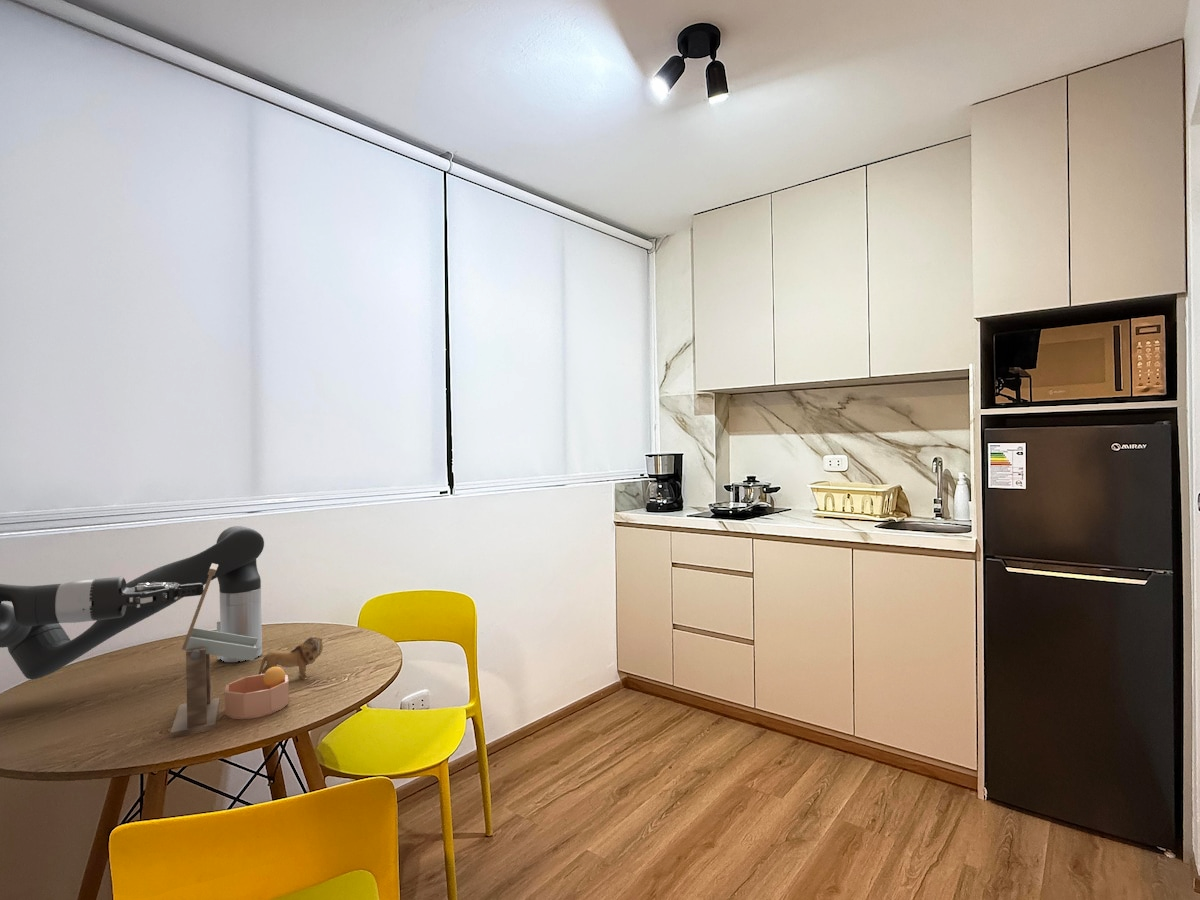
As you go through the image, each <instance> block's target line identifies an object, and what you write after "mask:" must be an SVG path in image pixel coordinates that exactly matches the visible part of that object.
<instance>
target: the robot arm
mask: <svg viewBox="0 0 1200 900" xmlns="http://www.w3.org/2000/svg"><path fill="white" fill-rule="evenodd" d="M264 548H265V540H264V537H263V536H262V535H261V533H260V532H258V531H257V530H255V529H254V528H253V529H252V528H250V527H247V526H243V525H234V526H231V527H228V528H225V529H224V530H223V531H222V532H220V534H219V535H218V537H217V540H216V543H215V544H213V545H212V546H210V547H208V548H206V549H204V550H203V551H201V552H198V553H196V554H194V555H192V556H189V557H186V558H182V559H181V560H180V559H179V560H176V561H173V562H171V563H167V564H165V565H162V566H159V567H157V568H154V569H152V570H149V571H148V572H146V573H144V574H142V575H139V577H136V578H134V579H132V580H130V581H129V582H127V581H126V579H125V577H123V576H115V577H114V576H113V577H105V578H102V577H101V578H93V579H91V578H90V579H81V580H75V581H70V582H63V583H54V584H44V585H16V584H3V583H0V649H1V648H7V651H8V653H9V654H10V656H11V659H13V661H14V662H15V664H16V665H17V667H18V669H19V670H20V671H21V673H22V675H23V676H24V677H25V678H26V679H27V680H36V679H37V680H38V679H40V678H41V679H42V678H43V677H46V676H49V675H51V674H53V673H55V672H56V671H58V670H60V669H62V668H64V667H65V666H67V665H69V664H70V663H72V662H74V661H75V660H76V659H78V658H80V657H82V656H83V655H84V654H86V653H88V652H89V651H91V650H93V649H94V648H97V646H99V645H101V644H102V643H104V642H105V641H107V640H108V639H110V638H113V637H114V636H116V635H117V634H119V633H121V632H123V631H125V630H126V629H129V628H130V627H132V626H134V625H136V624H137V623H140V622H142V621H143V620H145V619H147V618H149V617H151V616H153V615H155V614H157V613H158V612H160V611H162V610H164V609H166V608H168V607H170V606H171V605H173V604H175V603H176V602H178V601H179V600H181V599H183V598H186V597H188V598H189V597H197V596H202V593H203V590H204V586H205V585H206V582H207V579H208V577H209V575H207V574H208V572H209V569H210V567H211V564H212V563H214V564H218V567H217V570H216V573H215V576H212V579H211V581H213V580H215V579H217V582H218V587H219V590H218V591H219V620H217V622H216V631H217V632H223V633H229V634H235V635H242V636H248V637H254V638H258V640H257V643H256V648H258V650H257V653H256V655H255V658H254V659H256V658H258V656H259V657H261V656H262V654H263V634H262V633H263V632H262V631H263V629H262V627H263V625H262V623H263V622H262V588H261V587H262V585H261V584H262V580H261V576H260V574H259V570H258V565H257V559H258V558H259V556H260V555H261V554H262V552H263V550H264ZM4 602H11V604H12V606H11V605H10V604H7V603H4ZM93 621H94V623H93V624H92V625H90V627H89V628H87V629H86V630H85V631H84V632H82V633H80V634H79V635H78V636H76V637H75V638H73V639H70V637H69V635H68V634H67V632H66V631H65V630H64V628H63V627H62V625H61V624H65V623H66V624H67V623H69V624H72V623H73V624H75V623H85V622H86V623H87V622H93ZM216 657H217V660H220V659H221V660H222V661H221V660H220V661H221V662H223V661H224V663H239V662H238V661H240V662H246V661H245V660H244V659H237V658H230V657H224V656H217V655H216Z"/></svg>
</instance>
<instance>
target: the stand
mask: <svg viewBox="0 0 1200 900" xmlns="http://www.w3.org/2000/svg"><path fill="white" fill-rule="evenodd" d="M185 671H186V672H185V673H186V674H185V675H186V678H185V681H186V703H181V704H179V705H178V708H177V711H176V714H175V717H174V721H173V724H172V728H171V731H170V738H171V739H172V738H177V737H183V736H188V735H194V734H199V733H203V732H208V731H209V732H210V731H213V730H216V727H217V721H218V716H219V715H218V714H219V709H220V702H221V701H220V697H216V698H215V697H214V698H211V695H212V694H211V693H212V691H211V688H212V687H211V655H210V654H206V647H201V648H194V649H187V651H185Z"/></svg>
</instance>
